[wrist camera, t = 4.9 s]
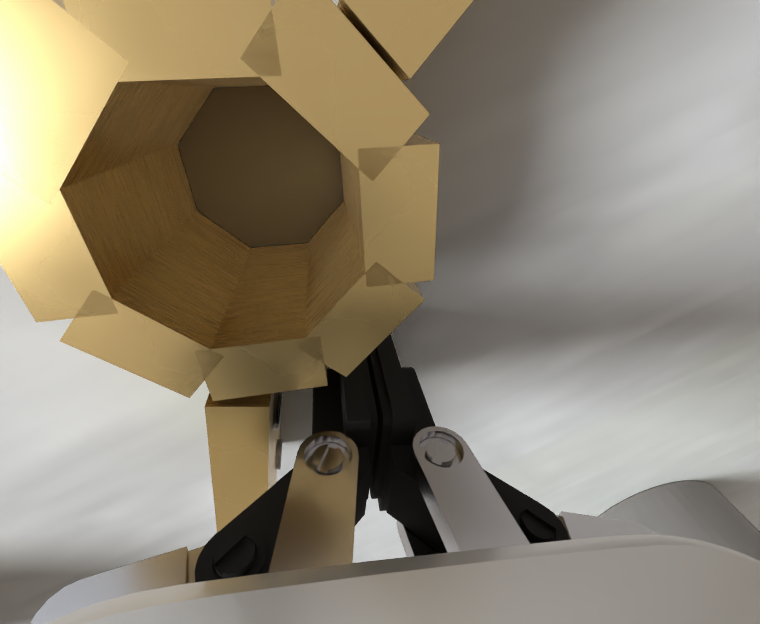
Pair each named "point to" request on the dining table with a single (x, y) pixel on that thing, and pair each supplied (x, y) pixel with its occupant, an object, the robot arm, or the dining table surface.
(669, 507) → the coffee mug
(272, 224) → the dining table surface
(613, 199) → the dining table surface
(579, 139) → the dining table surface
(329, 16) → the hinge base
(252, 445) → the wooden hinge leaf
